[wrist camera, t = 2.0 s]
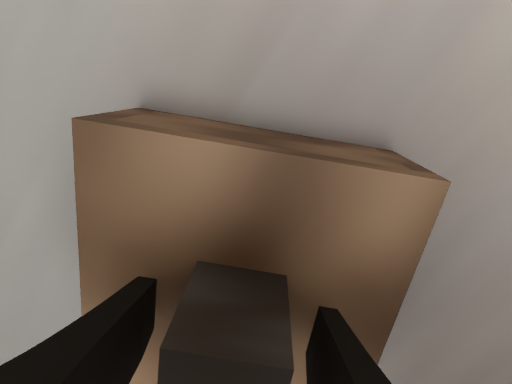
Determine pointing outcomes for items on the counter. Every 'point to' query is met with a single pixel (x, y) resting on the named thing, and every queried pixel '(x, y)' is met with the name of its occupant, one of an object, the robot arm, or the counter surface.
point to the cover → (245, 239)
